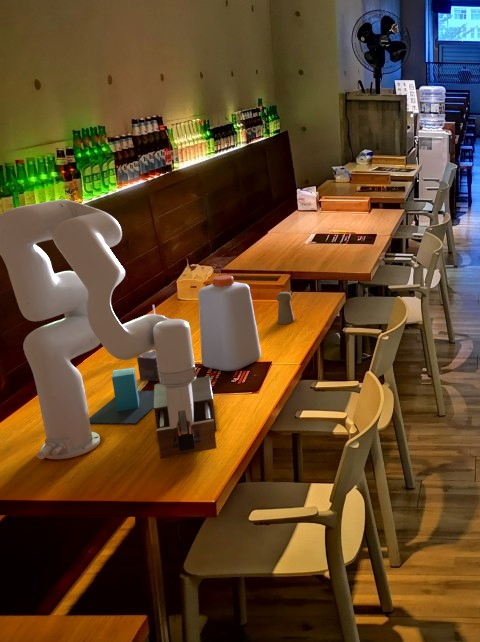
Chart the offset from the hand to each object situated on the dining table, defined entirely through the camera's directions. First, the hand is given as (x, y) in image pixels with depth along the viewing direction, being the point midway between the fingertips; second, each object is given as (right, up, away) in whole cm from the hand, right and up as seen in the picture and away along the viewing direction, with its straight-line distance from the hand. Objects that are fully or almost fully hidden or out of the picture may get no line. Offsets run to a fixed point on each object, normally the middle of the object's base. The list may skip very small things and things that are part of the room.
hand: (187, 448), depth 167 cm
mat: (-30, +4, +32) cm, 44 cm away
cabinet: (-10, +1, +23) cm, 25 cm away
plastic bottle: (-13, +12, +64) cm, 66 cm away
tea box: (-30, +4, +32) cm, 44 cm away
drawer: (-4, -1, +11) cm, 11 cm away
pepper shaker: (-7, +23, +102) cm, 105 cm away
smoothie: (-44, +16, +79) cm, 92 cm away
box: (-32, +9, +52) cm, 62 cm away
